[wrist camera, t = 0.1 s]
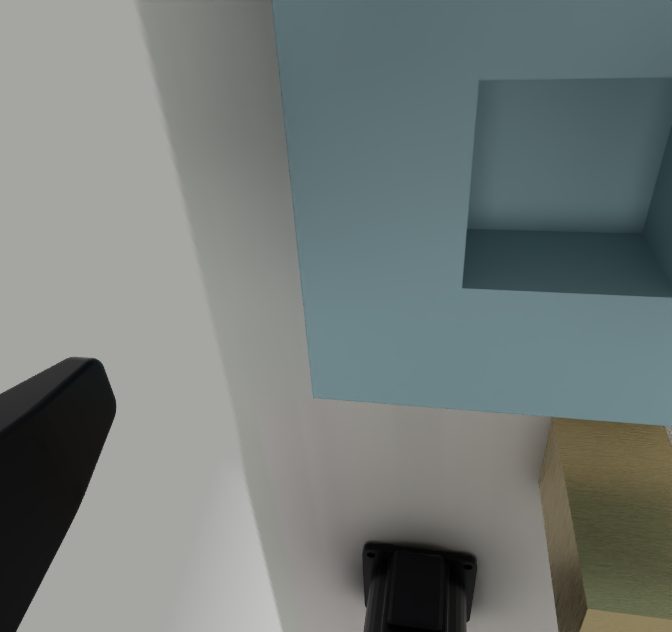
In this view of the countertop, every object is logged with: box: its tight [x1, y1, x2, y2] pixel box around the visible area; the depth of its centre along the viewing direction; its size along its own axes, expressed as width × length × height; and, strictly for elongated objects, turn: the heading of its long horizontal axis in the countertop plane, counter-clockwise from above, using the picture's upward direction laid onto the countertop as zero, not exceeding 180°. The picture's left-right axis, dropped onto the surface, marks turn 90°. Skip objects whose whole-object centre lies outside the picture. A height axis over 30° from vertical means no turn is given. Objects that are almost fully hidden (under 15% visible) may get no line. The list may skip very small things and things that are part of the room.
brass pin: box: [539, 417, 672, 632], centre depth 24 cm, size 5×5×9 cm
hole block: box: [272, 0, 672, 426], centre depth 18 cm, size 16×16×5 cm
